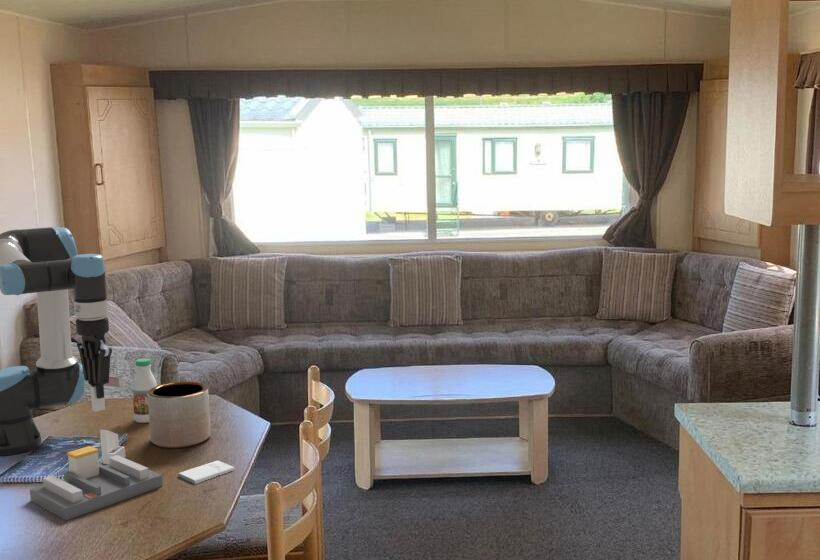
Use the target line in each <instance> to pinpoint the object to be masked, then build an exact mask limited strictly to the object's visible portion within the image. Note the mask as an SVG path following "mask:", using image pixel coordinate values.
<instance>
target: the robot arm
mask: <svg viewBox="0 0 820 560" xmlns="http://www.w3.org/2000/svg"><path fill="white" fill-rule="evenodd" d="M106 278H107V277H106V266H105V259H104V256H103V255H102V254H99V253H97V254H96V253H83V254H78V249H77V245H76V240H75V238H74V236H73V234H72V232H71V230H70V229H68V228H67V227H61V226H60V227H56V226H55V227H54V226H50V227H49V226H48V227H37V228H25V229H12V230H7V231H3V232H1V233H0V292H1V295H4V296H12V295H13V296H20V295H27V294H34V293H36V300H37V301H36V303H37V317H38V330H39V331H38V332H39V344H40V345H39V346H40V349H39V350H40V357H39V359H38V360H37V361H36V362H35V369H32V370H31V369H30V368H29V367H28V366H27V365H15V366H10V367H9V366H8V367H6V368H2V369H0V456H10V455H18V454H21V453H25V452H26V453H27V452H29V451H32V450H34V449H36V448H38V447H39V446H41V444H42V435H41V433H40V431H39V429H38V426H37V425H36V422H35V420H34V416H33V410H36V409H42V408H49V407H54V406H60V405H68V404H70V403H75V402H78V401H79V400H81V399H82V397H83V395H84V392H85V386H86V382H88V385H89V386H90V387H89V388H90V398H91V399H90V400H91V411H93V412H94V413H95V412H100V411H104V410H106V404H105V403H106V401H105V388H104V387H105V385H106V384H109V382H110V369H111V367H110V366H111V356H112V352H113V348H112V347H108V346H107V345H106V343H107V341H106V338H105V335H106V334H107V333H109V332H110V325H109V323H110V322H109V321H110V320H109V318H108V317H107V316H108V315H109V310H108V308H109V307H108V298H107V282H106V281H107V280H106ZM69 290H73V298H74V299H73V301H74V307H73V310H74V314H75V317H76V318H77V319H76V320H75V329H76V332H75V333H76V334H77V335H78V336H81V341H78V342H76V347H77V350H78V352H79V353H78V354H79V356H80V357H79V359H80V362H79V360H78V358H77V357H76V356H75V355H73V351H72V333H71V319H70V302H69V300H70V299H69Z"/></svg>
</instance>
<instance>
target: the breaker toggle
mask: <svg viewBox="0 0 820 560" xmlns="http://www.w3.org/2000/svg"><path fill="white" fill-rule="evenodd" d="M67 457H68V458H67V459H68V469H69V470H68V471H69V472H71V473H74V474H76V475H78V476H80V477H82V478H84V479H87V478H90V477H93V476H96V475H99V474H100V472H99V463H100V462H99V449H98V448H97V447H94V446H92V445H88V446H84V447H81V448H78V449H75V450H72V451H68V452H67Z"/></svg>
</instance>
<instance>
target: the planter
mask: <svg viewBox="0 0 820 560" xmlns="http://www.w3.org/2000/svg"><path fill="white" fill-rule="evenodd" d="M148 405H149V422H148V424H149V426H148V427H149V437H150V438H149V439H150V442H151V443H152V444H153V445H156V446H158V447H160V448H167V449H179V448H180V449H181V448H189V447H193V446H195V445H196V446H197V445H199V444H201V443H204V442H205V441H206V440H207V439H210V436H211V434H212V428H211V427H212V426H211V413H210V400H209V386H208V385H207V384H205V383H203V382H198V381H174V382H168V383H163V384H160V385H157V386H156V387H153V388H152V389H150V390H149V391H148Z"/></svg>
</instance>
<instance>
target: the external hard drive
mask: <svg viewBox="0 0 820 560" xmlns="http://www.w3.org/2000/svg"><path fill="white" fill-rule="evenodd" d="M233 470H234V471H235V467H234V466H232V465H230V464H228V463H226V462H222V461H220V460H214V461H212V462H209V463H205V464H202V465H199V466H196V467H191V468H190V469H187V470H184V471H181V472H178V473H177V477H178V476H179V477H178V478H180V477H181V479H183V480H185V481H187V482H189V481H190V483H191V482H192V484H194V485H197V484H199V483H203V482H206V481H208V479H209V480H211V478H212V479H214V478H213V477H215V478H217V477H219V476H218V475H220V476H222V474H223V475H225V474H224V473H226V474H229V473H231V472H230V471H232V472H234V471H233ZM228 472H229V473H228ZM216 476H217V477H216ZM205 480H206V481H205Z"/></svg>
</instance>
